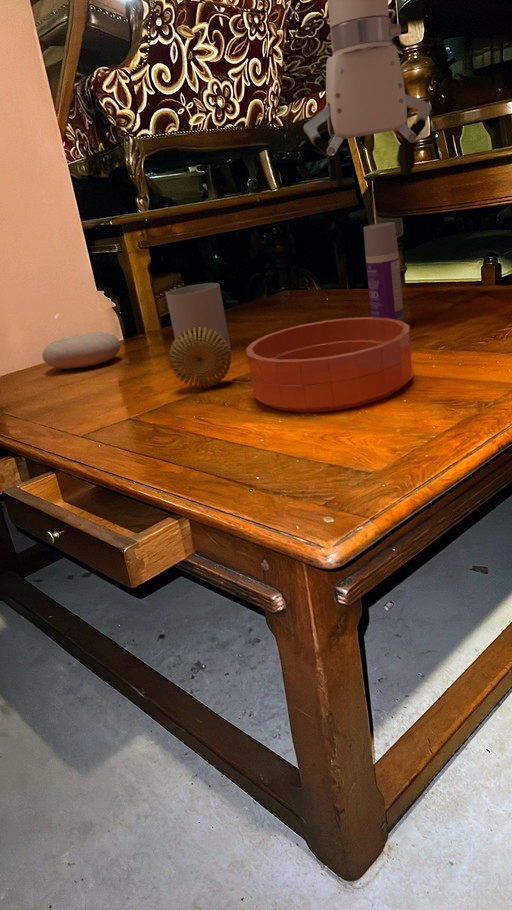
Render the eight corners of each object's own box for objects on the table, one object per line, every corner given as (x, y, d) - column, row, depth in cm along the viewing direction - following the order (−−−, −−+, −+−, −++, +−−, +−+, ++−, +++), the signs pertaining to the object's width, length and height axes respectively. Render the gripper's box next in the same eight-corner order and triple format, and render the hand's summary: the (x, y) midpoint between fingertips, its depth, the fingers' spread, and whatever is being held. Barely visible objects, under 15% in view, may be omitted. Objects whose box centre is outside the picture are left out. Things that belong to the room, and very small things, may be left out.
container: (367, 332, 104) (356, 229, 98) (381, 324, 107) (371, 224, 101) (396, 332, 101) (387, 225, 95) (409, 324, 104) (401, 220, 99)
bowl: (389, 355, 90) (385, 309, 88) (435, 395, 73) (431, 339, 71) (249, 380, 90) (241, 335, 88) (261, 427, 73) (252, 372, 71)
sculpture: (236, 377, 92) (226, 318, 89) (236, 386, 88) (224, 324, 86) (177, 387, 93) (165, 328, 90) (174, 396, 89) (161, 335, 86)
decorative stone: (38, 378, 111) (30, 348, 109) (57, 364, 119) (49, 335, 118) (115, 367, 110) (107, 336, 108) (128, 353, 118) (122, 324, 116)
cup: (203, 361, 104) (190, 295, 100) (167, 359, 109) (154, 295, 106) (241, 346, 109) (230, 282, 105) (206, 344, 115) (194, 283, 111)
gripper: (417, 35, 93) (425, 170, 100) (291, 55, 93) (307, 190, 100) (435, 23, 86) (442, 170, 93) (299, 45, 86) (315, 191, 93)
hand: (372, 180), depth 96 cm, fingers open, 9 cm apart
